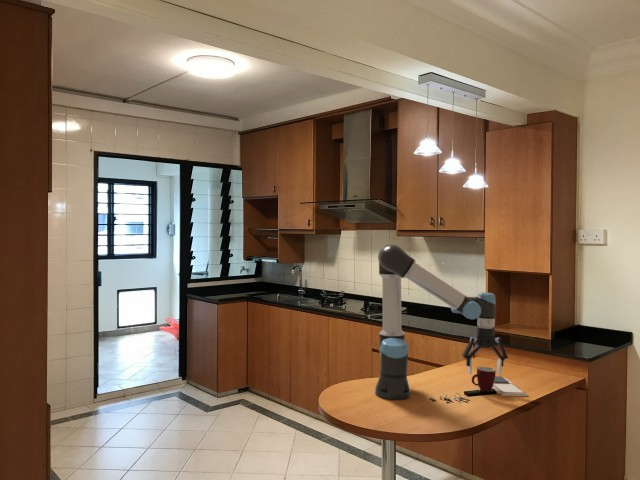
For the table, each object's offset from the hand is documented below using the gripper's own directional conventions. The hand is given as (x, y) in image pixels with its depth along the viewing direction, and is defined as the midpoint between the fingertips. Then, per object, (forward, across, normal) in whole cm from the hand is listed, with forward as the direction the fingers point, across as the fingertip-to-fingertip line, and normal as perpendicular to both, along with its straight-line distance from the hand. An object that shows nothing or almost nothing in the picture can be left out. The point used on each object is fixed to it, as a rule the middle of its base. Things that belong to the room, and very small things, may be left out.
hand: (484, 373), depth 233 cm
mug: (+8, 0, 0) cm, 8 cm away
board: (+8, +12, +6) cm, 16 cm away
